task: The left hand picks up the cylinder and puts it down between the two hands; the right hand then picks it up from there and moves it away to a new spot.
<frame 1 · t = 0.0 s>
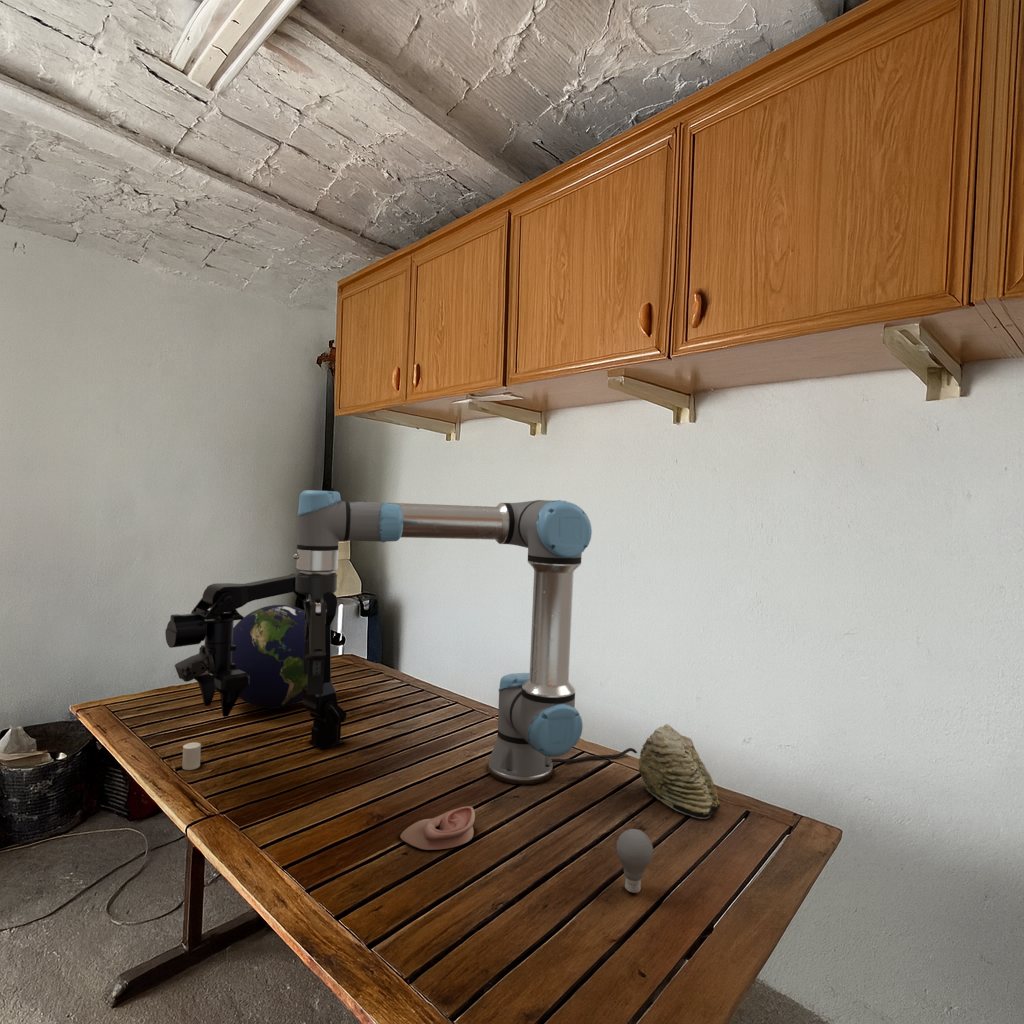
left hand: (216, 710, 141), 15 cm above the table, tool pointing down, fingers open, 9 cm apart
right hand: (312, 683, 120), 28 cm above the table, tool pointing down, fingers open, 13 cm apart
light bulb: (632, 891, 106), on the table
fossil: (675, 801, 139), on the table
globe: (275, 706, 188), on the table
cylinder: (191, 766, 145), on the table
anatomical model: (438, 835, 120), on the table
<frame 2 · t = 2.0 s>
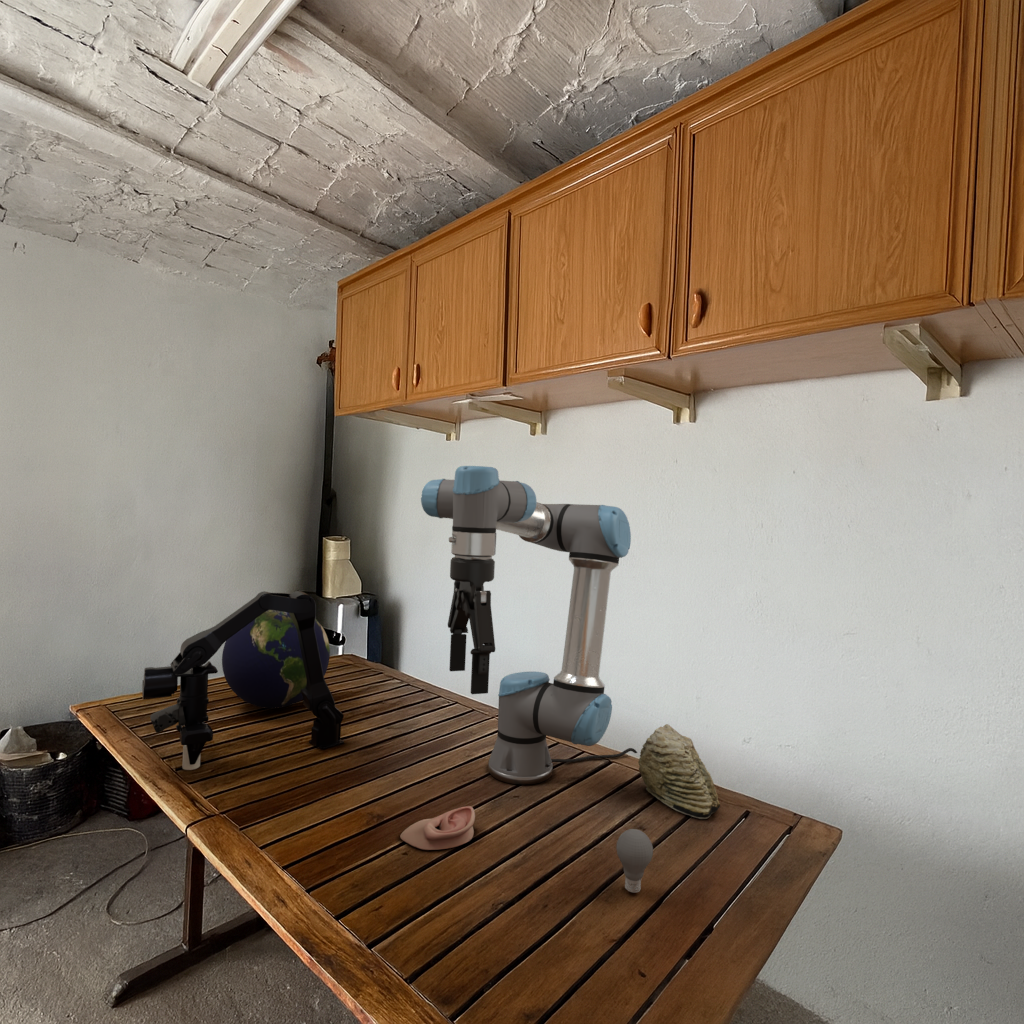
left hand: (191, 760, 145), 1 cm above the table, tool pointing down, fingers closed on cylinder, 4 cm apart
right hand: (467, 681, 108), 33 cm above the table, tool pointing down, fingers open, 13 cm apart
cylinder: (191, 766, 145), on the table, touching left hand
everything else where it was.
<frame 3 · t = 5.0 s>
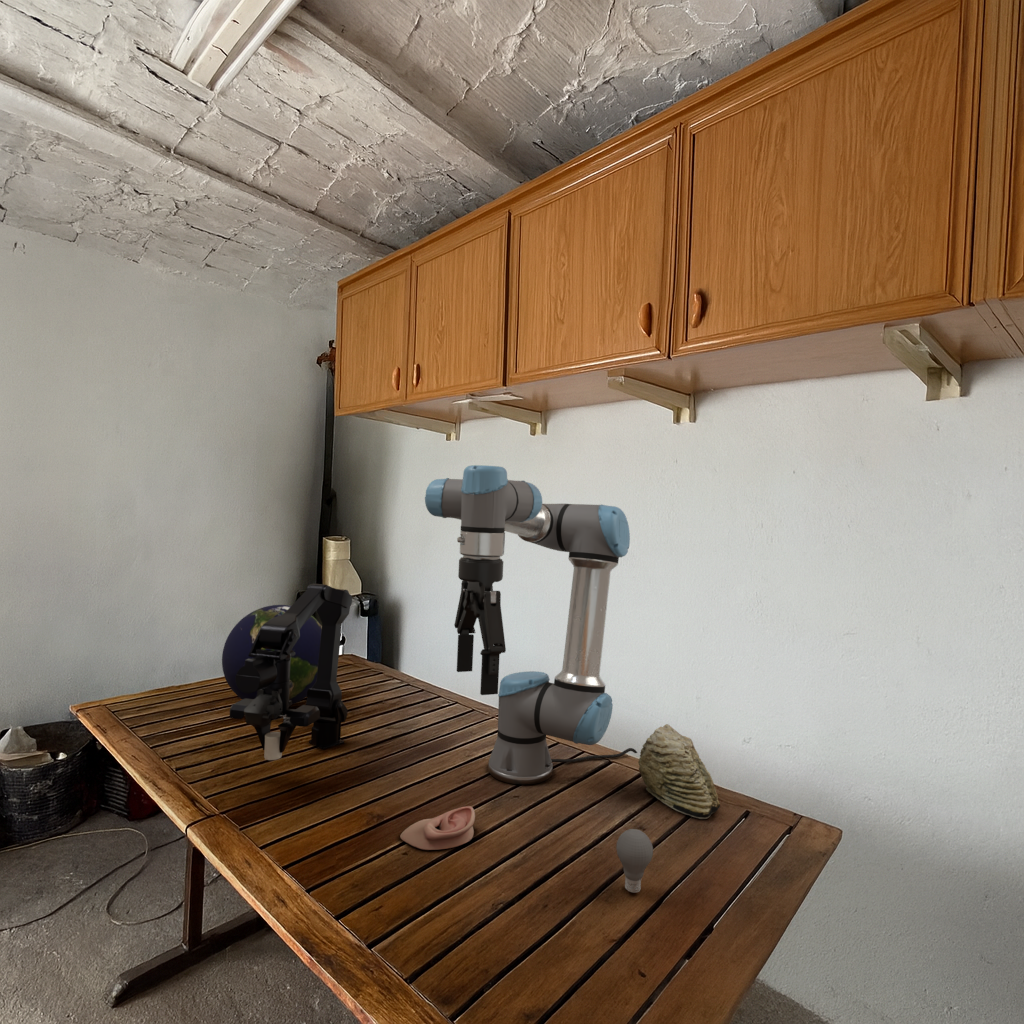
left hand: (273, 750, 139), 7 cm above the table, tool pointing down, fingers closed on cylinder, 4 cm apart
right hand: (476, 682, 107), 33 cm above the table, tool pointing down, fingers open, 13 cm apart
cylinder: (273, 756, 139), point 6 cm above the table, touching left hand
everything else where it was.
when the left hand's fingers open (2 cm above the table, at t = 7.9 s): cylinder stays where it is, on the table.
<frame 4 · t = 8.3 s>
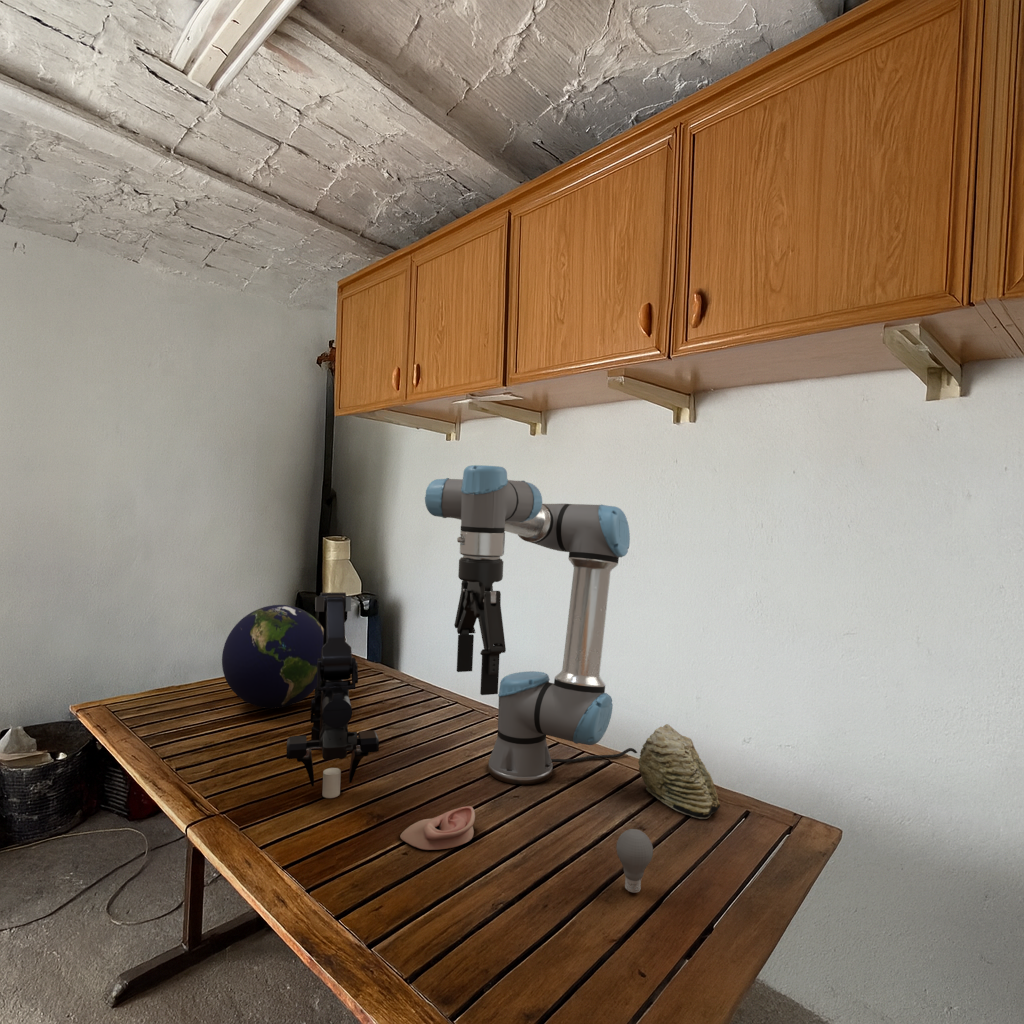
left hand: (331, 783, 135), 2 cm above the table, tool pointing down, fingers open, 7 cm apart
right hand: (476, 682, 107), 33 cm above the table, tool pointing down, fingers open, 13 cm apart
cylinder: (331, 794, 135), on the table
everything else where it was.
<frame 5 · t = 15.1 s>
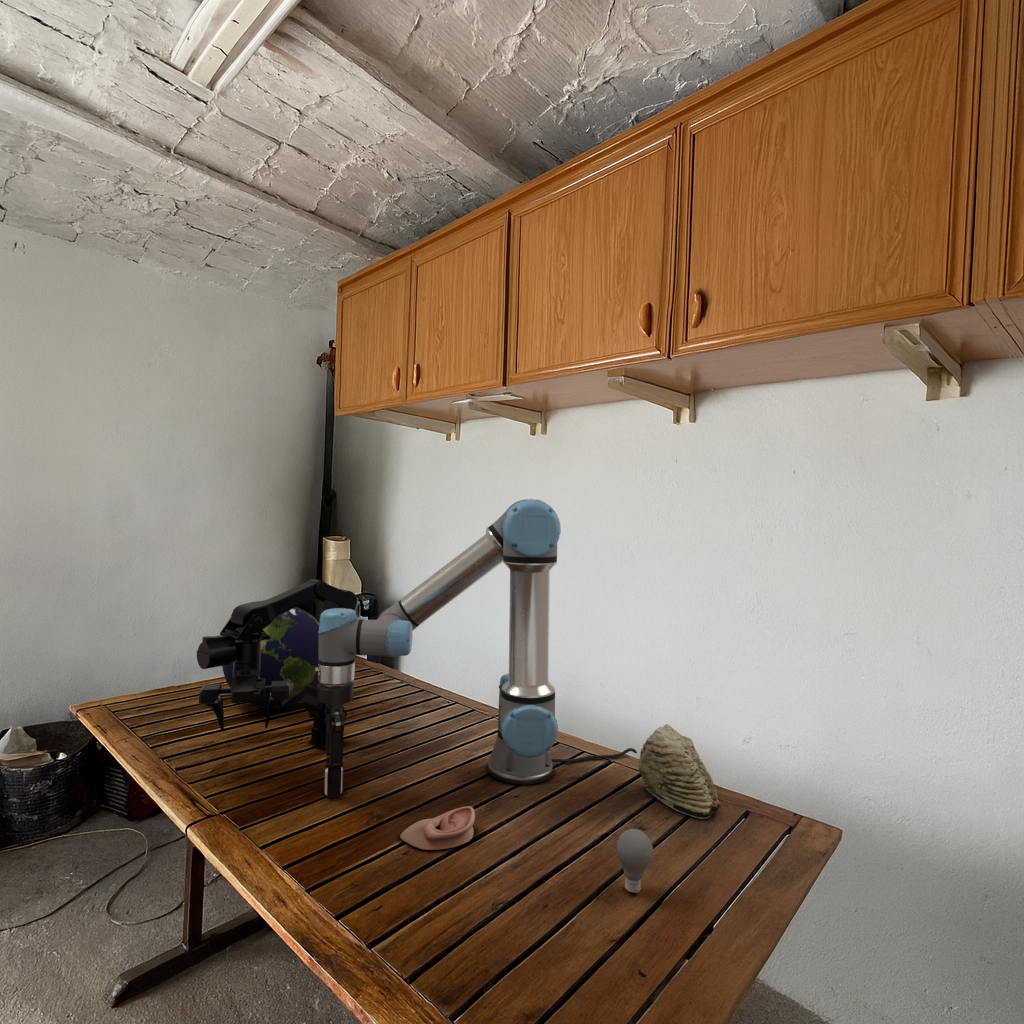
left hand: (244, 729, 144), 10 cm above the table, tool pointing down, fingers open, 9 cm apart
right hand: (332, 790, 135), 1 cm above the table, tool pointing down, fingers closed on cylinder, 4 cm apart
cylinder: (333, 792, 135), on the table, touching right hand
everything else where it was.
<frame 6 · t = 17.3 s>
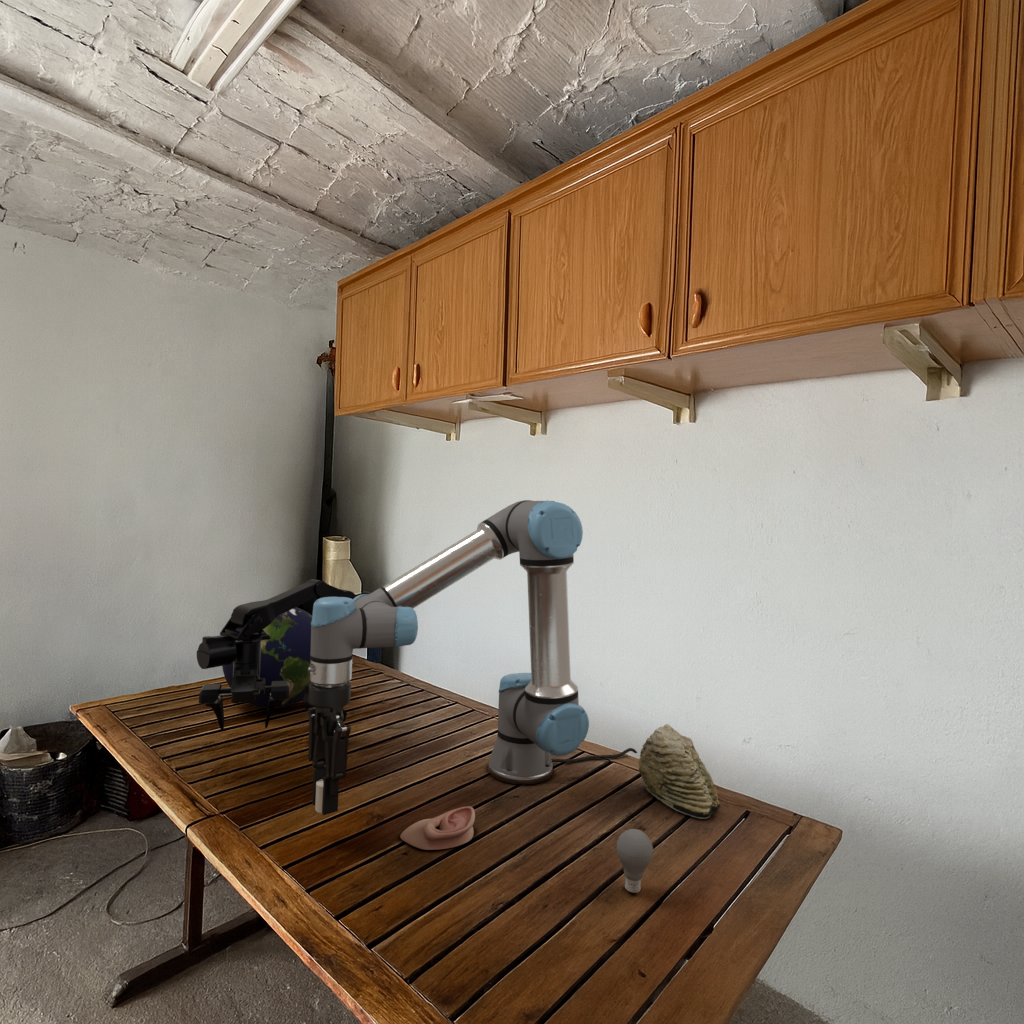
left hand: (244, 729, 144), 10 cm above the table, tool pointing down, fingers open, 9 cm apart
right hand: (324, 807, 117), 6 cm above the table, tool pointing down, fingers closed on cylinder, 4 cm apart
cylinder: (325, 808, 117), point 6 cm above the table, touching right hand
everything else where it was.
when the right hand's fingers open (1 cm above the table, at t = 19.9 s): cylinder stays where it is, on the table.
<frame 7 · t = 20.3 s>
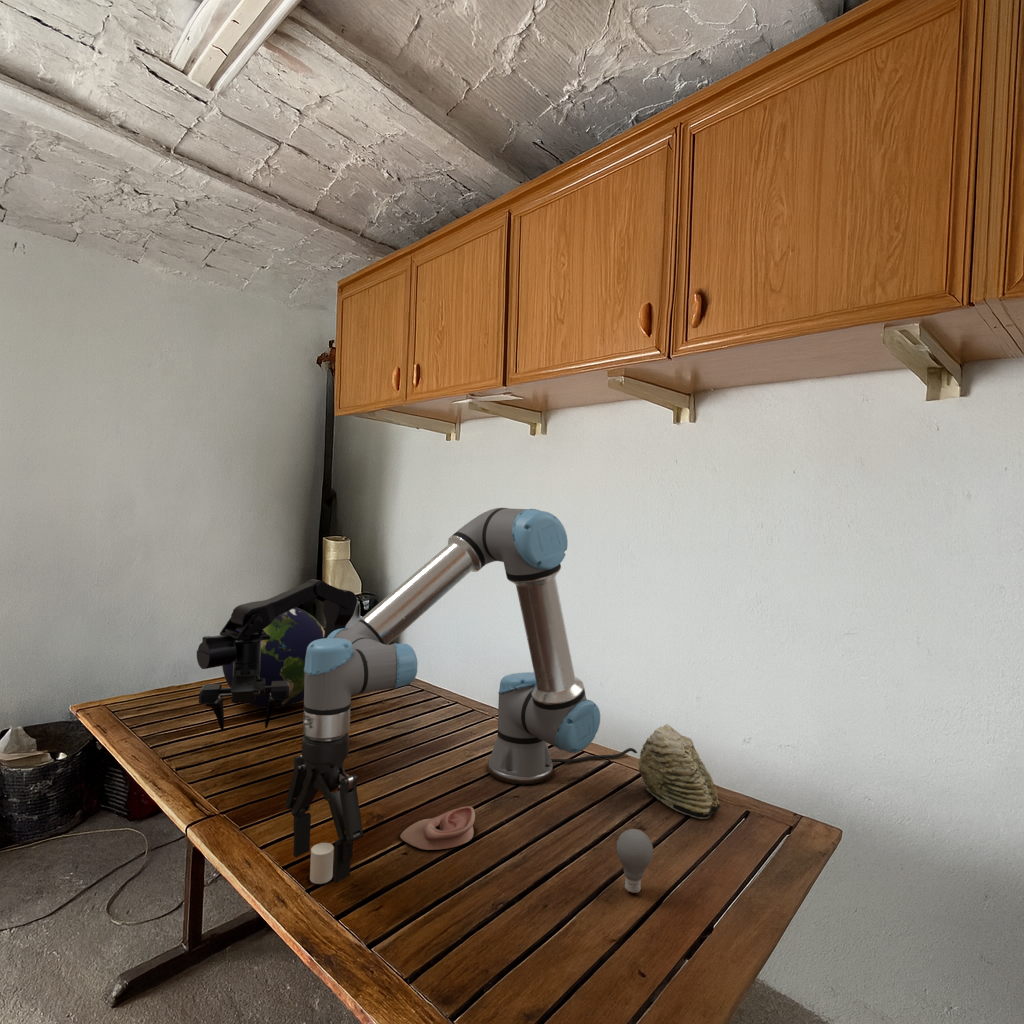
left hand: (244, 729, 144), 10 cm above the table, tool pointing down, fingers open, 9 cm apart
right hand: (321, 865, 106), 2 cm above the table, tool pointing down, fingers open, 10 cm apart
cylinder: (321, 877, 106), on the table
everything else where it was.
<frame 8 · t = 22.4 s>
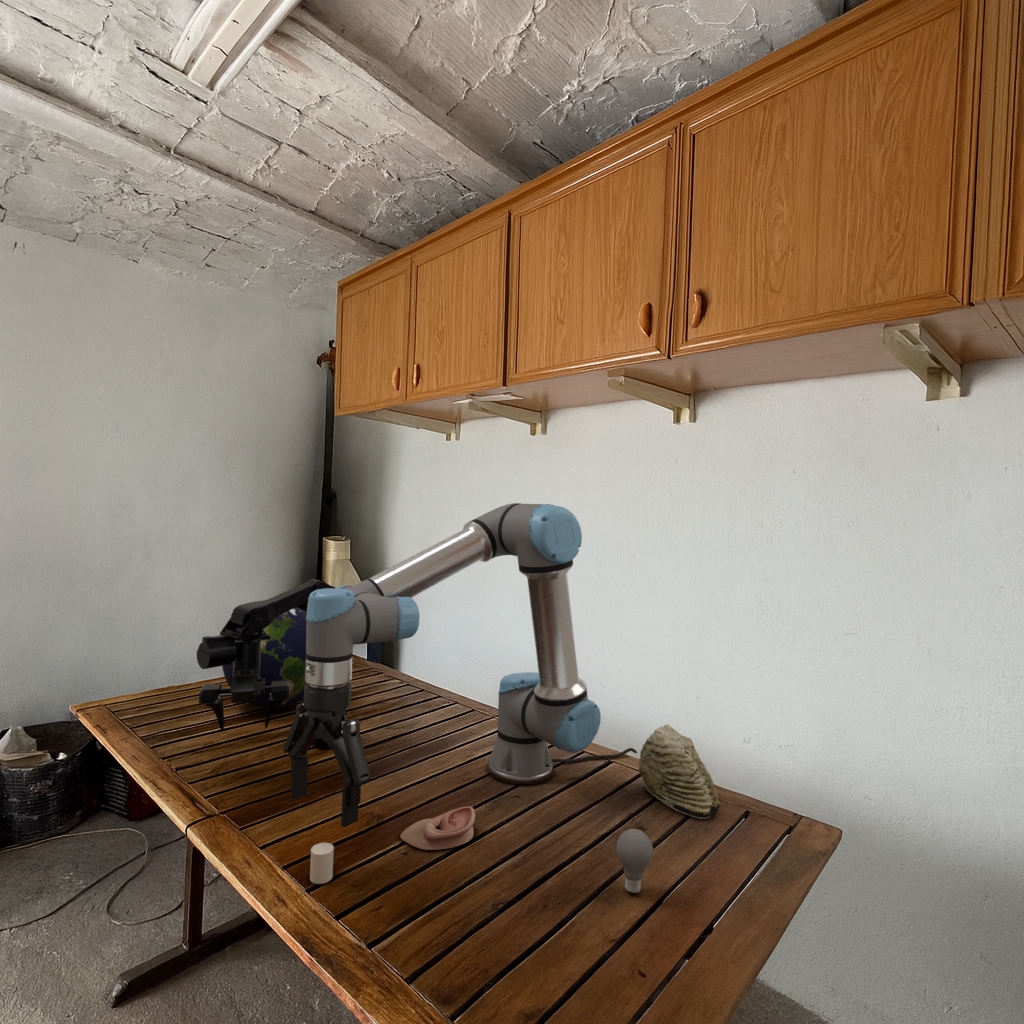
left hand: (244, 729, 144), 10 cm above the table, tool pointing down, fingers open, 9 cm apart
right hand: (323, 809, 105), 11 cm above the table, tool pointing down, fingers open, 13 cm apart
nothing on the table moved.
at the end: cylinder inside the target area (0.2 cm from its centre), on the table; cylinder tilted 0°; the two hands never held the cylinder at the same time; the left hand is holding nothing; the right hand is holding nothing; cylinder at rest at the end (0.0 cm/s) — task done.
